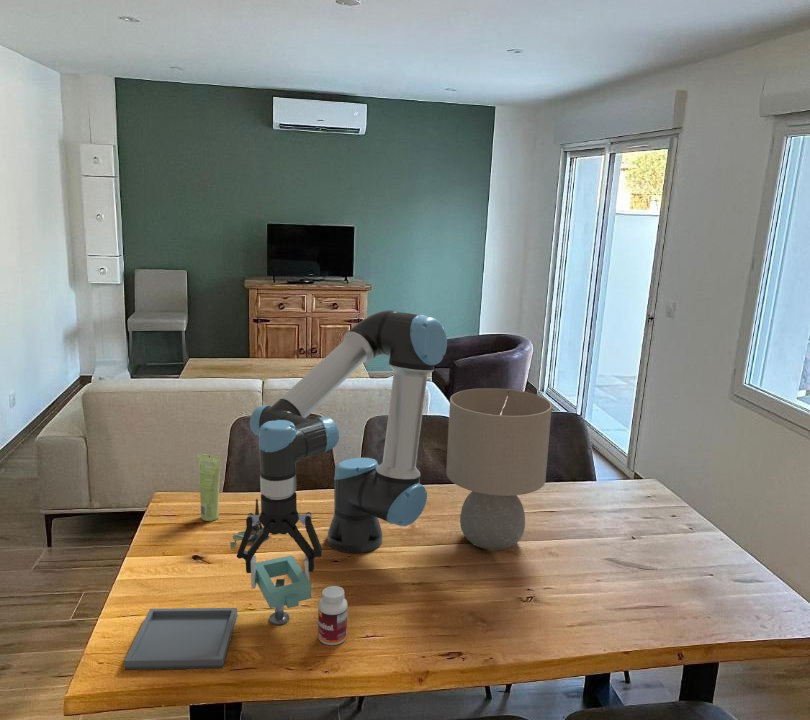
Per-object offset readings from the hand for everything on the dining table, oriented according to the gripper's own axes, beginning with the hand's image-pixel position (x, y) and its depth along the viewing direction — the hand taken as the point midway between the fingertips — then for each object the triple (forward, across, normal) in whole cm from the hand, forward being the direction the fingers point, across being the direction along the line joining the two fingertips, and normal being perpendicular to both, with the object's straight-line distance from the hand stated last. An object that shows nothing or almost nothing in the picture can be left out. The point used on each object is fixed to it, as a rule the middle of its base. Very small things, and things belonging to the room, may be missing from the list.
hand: (280, 584), depth 154 cm
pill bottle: (+9, -12, +7) cm, 16 cm away
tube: (+9, +25, -50) cm, 57 cm away
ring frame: (0, 0, +1) cm, 1 cm away
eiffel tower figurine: (+9, +10, -38) cm, 41 cm away
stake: (+8, 0, 0) cm, 8 cm away
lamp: (+10, -55, -36) cm, 66 cm away
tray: (+8, +19, +8) cm, 22 cm away
